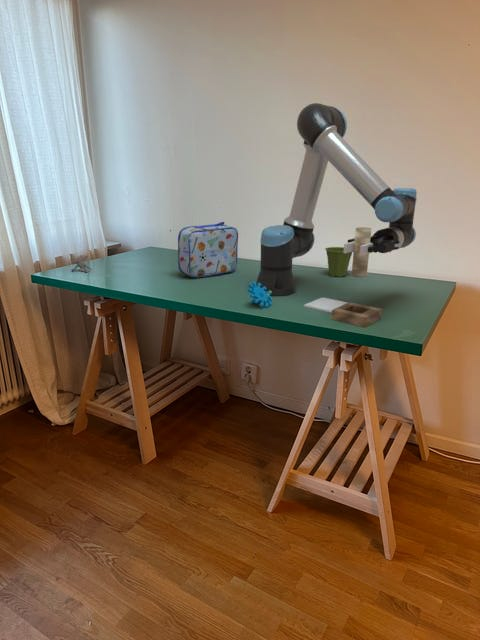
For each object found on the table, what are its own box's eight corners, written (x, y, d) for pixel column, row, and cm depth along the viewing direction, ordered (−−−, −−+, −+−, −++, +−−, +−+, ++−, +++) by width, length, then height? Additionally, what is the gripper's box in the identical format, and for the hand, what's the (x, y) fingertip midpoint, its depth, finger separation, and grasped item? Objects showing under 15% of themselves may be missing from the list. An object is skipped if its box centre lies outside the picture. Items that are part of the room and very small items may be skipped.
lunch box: (227, 267, 205) (227, 218, 198) (242, 272, 198) (242, 221, 191) (176, 276, 189) (173, 223, 182) (189, 281, 181) (188, 226, 174)
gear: (259, 306, 144) (245, 281, 147) (248, 316, 147) (234, 291, 150) (280, 303, 152) (266, 279, 155) (269, 313, 156) (256, 289, 159)
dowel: (348, 275, 134) (352, 228, 129) (355, 273, 137) (360, 226, 132) (362, 278, 131) (367, 229, 127) (369, 275, 134) (374, 228, 130)
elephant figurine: (78, 275, 191) (64, 265, 194) (84, 282, 196) (71, 272, 199) (94, 258, 193) (81, 249, 197) (100, 266, 198) (87, 256, 202)
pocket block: (331, 319, 137) (332, 309, 136) (348, 311, 145) (349, 302, 144) (364, 327, 131) (365, 317, 130) (380, 318, 139) (382, 308, 138)
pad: (303, 306, 150) (303, 304, 149) (322, 298, 158) (322, 297, 158) (335, 314, 142) (336, 312, 142) (353, 305, 151) (353, 303, 151)
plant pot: (357, 275, 192) (359, 249, 189) (340, 279, 185) (343, 252, 181) (334, 270, 201) (336, 245, 197) (317, 274, 193) (319, 248, 189)
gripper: (412, 255, 140) (380, 267, 123) (361, 248, 151) (325, 258, 134) (416, 230, 138) (383, 239, 121) (363, 225, 148) (327, 233, 132)
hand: (353, 249), depth 127 cm, fingers closed on dowel, 4 cm apart
